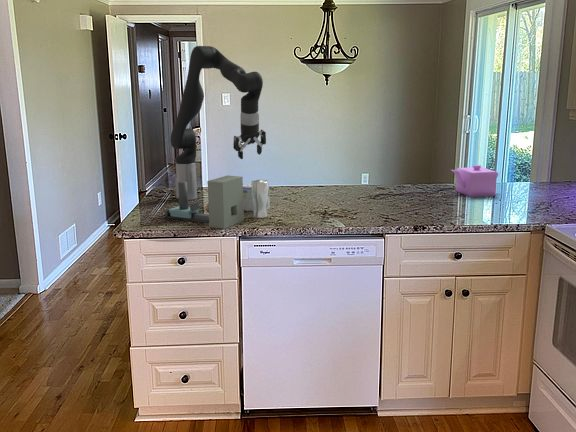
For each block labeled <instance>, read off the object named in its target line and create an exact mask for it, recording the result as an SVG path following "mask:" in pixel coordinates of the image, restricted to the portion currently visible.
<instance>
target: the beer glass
mask: <svg viewBox="0 0 576 432" xmlns="http://www.w3.org/2000/svg"><path fill="white" fill-rule="evenodd" d="M268 182H269V181H268V180H267V179H253V180H251V184H252V185H251V194H252V200H253V205H254V211H253V213H252V217H253V218H256V219H264V218H267V217H268V210H267V200H268V185H269V183H268Z"/></svg>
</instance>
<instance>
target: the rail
mask: <svg viewBox="0 0 576 432" xmlns="http://www.w3.org/2000/svg"><path fill="white" fill-rule="evenodd" d="M172 208H173V207H171V208H167V209H165V210H164V217H165V218H167V219H175V220H182V221H190V222H191V221H192V222H198V223H206V224H209V213H208V214H207V213H199V212H198V213H192V214H191V216H192V218H190V219H189V218H182V217H174V216H171V215H170V212H169V209H172Z"/></svg>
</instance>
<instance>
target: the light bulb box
mask: <svg viewBox="0 0 576 432" xmlns="http://www.w3.org/2000/svg"><path fill="white" fill-rule="evenodd" d="M251 185H252V183H251V184H250V183H248V184H247V183H246V184H245V185H243V210H244V211H250V212H251V211H252V212H254V205H253V200H252V194H251ZM270 203H271V202H270V185H269V184H268V200H267V211H268V210H270V209H271V208H270V207H271V204H270Z"/></svg>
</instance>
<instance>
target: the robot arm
mask: <svg viewBox="0 0 576 432" xmlns="http://www.w3.org/2000/svg"><path fill="white" fill-rule="evenodd" d="M203 69H209V70H210V69H216V70H219V71H220V72H219V73H220V74H221V76H222V77H223V78H224V79H226V80H227V81H229V82H231V83H232V85H233V86H235V88H236V89H237V91H239V92H240V93H242V94H243V93H244V94H245V93H246V94H245V95H243V96H242V97H241V98H240V117H239V119H240V135H239V136H236V135H234V136H233V144H232V145H233V150H234V151H235V152H237V156H238V158H239V159H240V160H243V159H244V152H243V150H244V149H245V148H246V147H247V146H248V145H253V144H255V143H256V144H257V145H256V154H258V156H259V155H262V151H263V150H262V149H263V145H266V144H267V133H266V131H265V130H264V129H260V115H259V113H260V112H259V102H260V101H259V100H260V97H261V93H262V90H263V87H264V84H263V83H264V80H263V77H262V75H261V73H260V72H258V71H251V72H246V70H245V69H244V68H243V67H241V66H239V65H238V64H236V63H234V62H233V61H231V60H229V58H227V57H226V56H225V55H224V54H223V53H221V52H220V51H219V49H217V48H216V47H214V46H211V45H197V46H194V47H193V48H192V51H191V53H190V57H189V65H188V71H187V77H186V81H185V85H184V90H183V91H182V96H181V101H180V106H179V110H178V113H177V117H176V119H175V122H174V125H173V127H172V130H171V133H170V144H171V145H170V146H171V147H172V148H173V149H175V150H183V149H184V150H183V151H182V153H180V154H179V155H177V156H176V157H175V172H176V178H175V179H174V184H175V186H174V187H175V189H174V190H175V198H176V199H177V200H179V191H178V182H187V192H188V201H191V200H196V199H198V188H197V187H198V185H197V170H196V169H197V168H196V167H197V166H196V160H197V159H196V158H197V135H196V132H195V130H194V129H192V128H187V127H188V125H189V124H190V122H191V121H192V120H194V119H195V117H196V116H197V115H198V114H199V112H200V110H201V109H202V106H203V102H204V99H205V94H204V93H205V92H204V89H203V86H202V83H201V81H200V76H201V71H202V70H203ZM259 137H260V140H259Z"/></svg>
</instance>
